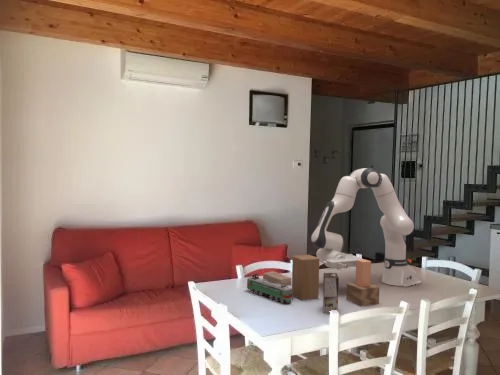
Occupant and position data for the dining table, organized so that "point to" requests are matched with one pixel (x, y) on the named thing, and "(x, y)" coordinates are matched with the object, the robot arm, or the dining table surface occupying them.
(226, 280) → the dining table surface
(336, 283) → the coffee box
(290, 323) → the dining table surface
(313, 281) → the wooden block
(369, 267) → the terracotta block
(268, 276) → the brick
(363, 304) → the tower base
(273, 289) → the toy train
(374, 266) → the dining table surface
